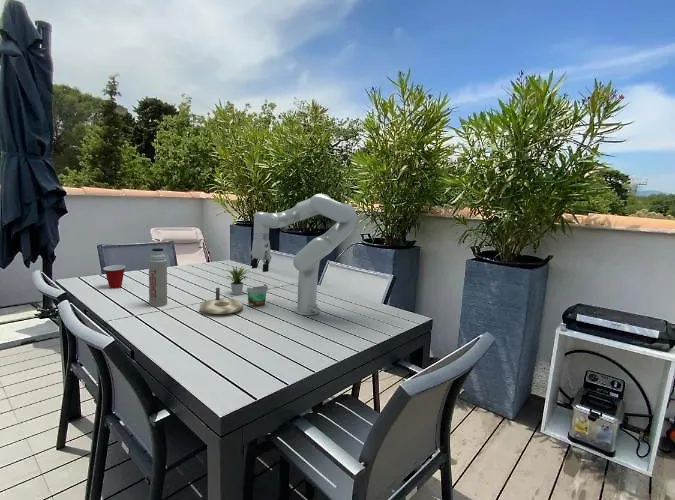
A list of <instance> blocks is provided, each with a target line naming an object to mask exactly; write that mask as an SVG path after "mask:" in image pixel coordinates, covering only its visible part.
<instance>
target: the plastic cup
mask: <svg viewBox="0 0 675 500" xmlns="http://www.w3.org/2000/svg"><path fill="white" fill-rule="evenodd" d="M102 269H103V271H104V273H105V276H106V280H107V284H108V287H109V289H110V290H111V289H120V288H122V286H123V281H124V273H125V269H126V265H123V264H114V265H109V266H105V267H103V268H102Z"/></svg>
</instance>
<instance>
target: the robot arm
mask: <svg viewBox="0 0 675 500" xmlns="http://www.w3.org/2000/svg"><path fill="white" fill-rule="evenodd" d="M317 215H322V216H323V217H325V218H328V219H331V220H332V221H334V222H336V223H334V224H333V226H331V227H330V228H329V229H328V230H327V231H326V232H325V233H323V234H322V235H319V236H316V237H315V238H313V239H312V240H310V241H309V242H307V244H306V245H305V246H304V247H302V249H300V250H299V251H298V252H297V253H296V254H295V255H294V257H293V261H292V262H293V267H294V268H295V269H296V271H299V272H298V280H297V281H298V282H297V303H296V304H297V305H296V307H294V308H293V312H294V313H295V314H297V315H301V316H313V315H317V314H318V313H320V311H321V310H322V309H321V308H320V307H318V306H319V305H318V303H317V295H318V281H319V280H318V279H319V269H320V262H321V260H322V259H324V258H325V257H326V256H327V255H329V254H331V253H332V252H333V250H335V248H337V247H338V246H339V245H340V244H341V243H342V242H344V240H345V239H347V238H348V237H349V235H351V234H352V232H353V230H355V228H356V225H357V218H358V217H357V212H356V210H355V208H354V206H352V205H351V204H349V203H342V202H339V201H338V200H335V199H332V198H331V196H330V195H328V194H326V193H316V194H314V195H313V196H311V197H310V198H307V199H305V200H301V201H299V202H297V203H296V204H295V206H293V207H292V208H289V209H287V210H283V211H281V212H271V213H269V212H266V211H256V212H255V213H254V214H253V240H252V247H251V250H250V251H249V254H250V258H251V259H250V260H251V269H253V270H254V269H258V260H261V261H262V263H263V264H262V273H267V272H269V271H270V270H269V269H270V268H269V267H270V266H269V265H270V263H271V260H272V255H271V244H270V240H269V239H270V238H269V237H270V235H269V234H270V229H278V228H285V227H287V226H289V225H293V224H295V223H298V222H300V221H304V220H306V219H309V218H312V217H314V216H315V217H316V216H317Z"/></svg>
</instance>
